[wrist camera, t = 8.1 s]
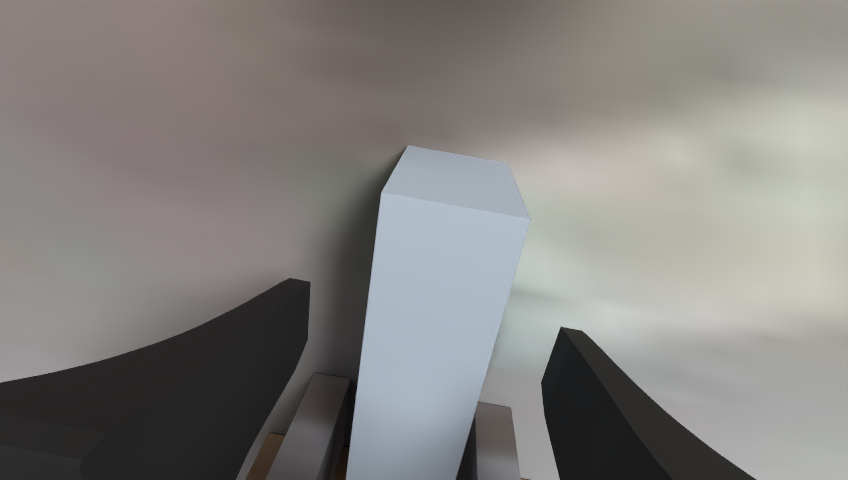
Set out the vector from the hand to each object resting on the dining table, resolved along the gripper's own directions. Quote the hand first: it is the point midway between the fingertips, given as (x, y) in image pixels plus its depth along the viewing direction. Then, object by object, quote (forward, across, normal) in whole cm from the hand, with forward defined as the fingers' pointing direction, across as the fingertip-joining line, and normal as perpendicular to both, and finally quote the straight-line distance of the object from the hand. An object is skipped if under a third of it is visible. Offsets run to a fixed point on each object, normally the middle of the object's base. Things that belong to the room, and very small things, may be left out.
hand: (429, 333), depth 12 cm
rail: (+4, 0, +2) cm, 4 cm away
